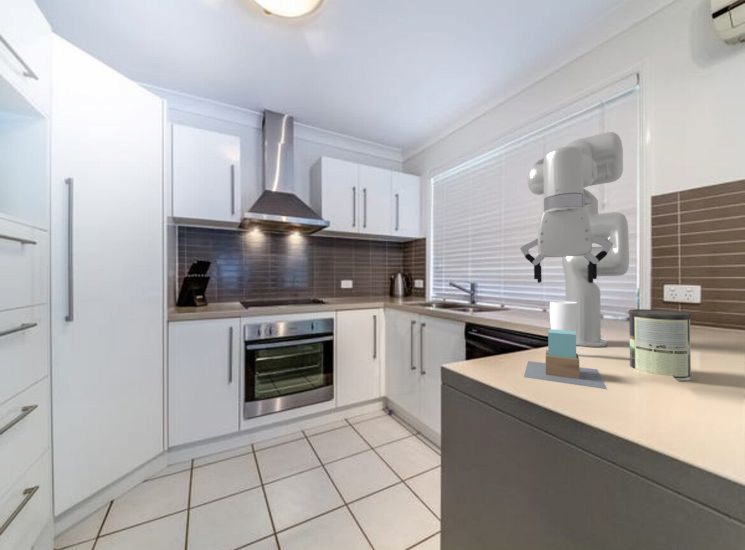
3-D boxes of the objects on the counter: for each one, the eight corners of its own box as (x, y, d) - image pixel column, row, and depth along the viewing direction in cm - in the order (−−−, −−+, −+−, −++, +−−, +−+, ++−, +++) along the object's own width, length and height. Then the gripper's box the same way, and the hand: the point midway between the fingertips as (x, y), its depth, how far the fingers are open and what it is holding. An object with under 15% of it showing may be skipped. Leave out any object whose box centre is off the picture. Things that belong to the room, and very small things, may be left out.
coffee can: (618, 366, 75) (617, 309, 75) (664, 367, 74) (663, 309, 74) (652, 380, 64) (652, 314, 64) (706, 382, 63) (705, 314, 63)
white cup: (544, 355, 86) (543, 301, 86) (559, 352, 89) (559, 300, 89) (568, 360, 80) (568, 303, 80) (584, 357, 82) (583, 302, 83)
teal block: (548, 350, 70) (548, 329, 70) (574, 353, 67) (574, 331, 67) (548, 355, 66) (548, 332, 66) (576, 358, 63) (576, 334, 63)
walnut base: (546, 367, 71) (546, 350, 71) (577, 371, 68) (577, 353, 68) (545, 374, 65) (545, 356, 66) (579, 379, 62) (579, 359, 62)
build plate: (528, 364, 76) (528, 360, 76) (597, 373, 69) (597, 369, 69) (523, 381, 64) (523, 376, 64) (607, 394, 57) (606, 389, 57)
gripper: (609, 204, 67) (610, 282, 67) (521, 213, 76) (522, 282, 76) (615, 197, 60) (616, 283, 60) (518, 207, 69) (519, 283, 69)
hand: (564, 282), depth 68 cm, fingers open, 9 cm apart
